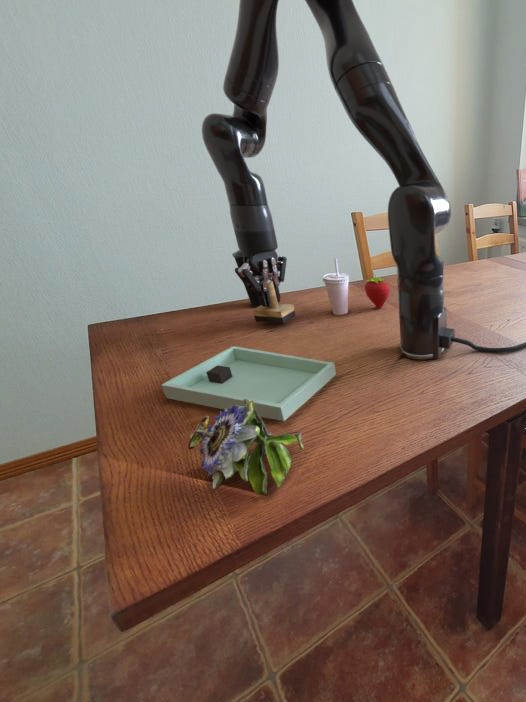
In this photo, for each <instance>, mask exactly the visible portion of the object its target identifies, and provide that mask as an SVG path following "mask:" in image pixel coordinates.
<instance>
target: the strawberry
mask: <svg viewBox="0 0 526 702" xmlns="http://www.w3.org/2000/svg"><path fill="white" fill-rule="evenodd" d="M372 274H373V275H374V277H371V279H367V280H365V285H364V292H365V294H366V296H367V298H368V299H369V300H370V302H371V303H372V304H373V305H374V306H375V307H376V308H377V309H381V308H383V306H384V305H385V303H386V302H387V300H388V299H389V297H390V292H391V290H390V286H389V284H387V282H385V281H386V279H384V278H383V277H379V278H378V277H376V275H375V273H374V272H372Z"/></svg>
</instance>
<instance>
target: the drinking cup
mask: <svg viewBox="0 0 526 702" xmlns="http://www.w3.org/2000/svg"><path fill="white" fill-rule="evenodd" d="M231 255H232V257H233V258H234V260H235V264H236V266H237V268H241V266H242V265H243V264H244V262H243V258H244V254H243V252H242V251H241V250H239V249H238V250H237V251H234V252H233V253H232V254H231ZM257 276H259V275H257ZM260 277H262V276H260ZM259 283H260V286H261V281H259ZM243 285H244V288H245V291H246V294H247V297H248V299H249V302H250V305H251V307H252V308H257V307H259V306H261V304H260V302H259V298H258V294H257V291H254V290H249V289H248V288H247V287H246V286H245V284H244V283H243Z"/></svg>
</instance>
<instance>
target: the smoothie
mask: <svg viewBox="0 0 526 702" xmlns="http://www.w3.org/2000/svg"><path fill="white" fill-rule="evenodd" d="M333 261H334V267H335V272H329V273H325V274H324V275H323V276H322V282H323V283H324V285H325V288H326V293H327V297H328V300H329V303H330V306H331V307H330V308H331V310H332V314H333V315H335V316H343V315H346V314H348V313H349V281H350V276H349V274H348V273H344V272H339V265H338V259H337V258H334V260H333Z"/></svg>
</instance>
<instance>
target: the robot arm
mask: <svg viewBox="0 0 526 702" xmlns="http://www.w3.org/2000/svg"><path fill="white" fill-rule="evenodd" d="M279 1H280V0H239V5H238V14H237V15H238V16H237V23H236V29H235V36H234V40H233V44H232V48H231V51H230V52H231V53H230V57H229V60H228V64H227V66H226V67H227V68H226V71H225V75H224V80H223V85H222V91H223V94H224V95H225V97H226V98H227V99H228V100H229V101H230V102H231V103H232V104H233V111H232V115H231V114H223V113H215V112H213V113H210V114H207V115H206V116H205V117H204V119H203V120H202V124H201V136H202V141H203V144H204V147H205V148H206V151H207V153H208V155H209V157H210V159H211V160H212V163H213V165H214V166H215V169H216V170H217V173H218V174H219V176H220V177H221V179H222V182H223V184H224V185H223V186H224V190H225V194H226V197H227V202H228V207H229V215H230V221H231V223H232V227H233V232H234V235H235V240H236V244H237V247H238V250H241V251H242V252H243V254H244V258H243V262H244V264H243V265H242V266H241V268H238V267H235V268H234V272H235V274H236V276H238V278H239V279H240V281H241V282H242V283H243V285H244V284H245V286H246V287H247V288H248V289H249V290H254V291H257V294H258V298H259V302H260V304H261V305H262V306H264V307H270V306H271V300H270V296H269V291H267V290H268V287H267V281H273V285H274V289H275V293H276V297H277V301H278V303H280V302H281V292H280V289H279V287H280V285H281V283H284V281H285V277H286V268H287V260H288V258H287V257H286V256H282V255H278V253H277V251H276V250H277V249H278V248H279V246H278V241H277V240H278V239H277V235H276V230H275V225H274V221H273V216H272V212H271V210H270V206H269V202H268V197H267V192H266V187H265V183H264V180H263V178H262V177H261V175H260V174H258V173H256V172H254V171H251V170H250V169H249V167H248V165H247V162H246V160H245V159H251V158H255V157H257V156H258V155H260V153H261V152H262V151H263V148H264V146H265V144H266V138H267V127H268V126H267V125H268V106H269V104H270V101H271V98H272V95H273V92H274V89H275V86H276V83H277V79H278V75H279V68H280V55H279V43H278V32H277V16H278V15H277V14H278V6H279ZM304 1H305V3H306V5H307V6H308V8H309V11H310V12H311V14H312V16H313V18H314V20H315V21H316V23H317V26H318V28H319V30H320V32H321V35H322V38H323V42H324V49H325V59H326V60H325V61H326V66H327V71H328V75H329V79H330V82H331V84H332V86H333V89H334V91H335V93H336V94H337V97H338V99H339V102H340V103H341V105H342V108H343V109H344V111H345V113H346V115H347V116H348V119H349V120H350V122H351V124H352V125H353V126H354V128H355V129H356V131H358V133H359V134H360V135H361V136H362V137H363V139H364V140H365V141H366V142H367V143H368V144H369V145H370V147H371V148H372V149H373V150H374V152H376V154H377V155H379V156H380V157H381V159H382V160H383V161H384V162H385V164H386V165H387V166H388V168H389V169H390V171H391V173H392V174H393V177H394V178H395V181H396V182H397V184H398V186H397V187H395V189H394V190H393V191H392V192H391V194H390V196H389V199H388V203H387V224H388V234H389V244H390V252H391V257H392V259H393V262H394V264H395V268H396V281H397V301H398V318H399V319H398V321H399V322H398V323H399V338H400V339H399V340H400V345H399V346H400V347H399V348H400V352H402V353H401V355H402V356H404V357H406V358H409V359H411V360H418V361H424V360H432V359H434V360H439V359H440V357H441V356H442V355H443V353H444V352H445V350H446V349H448V350H449V349H450V348H451V346H453V343H458V344H462V345H466V346H468V347H469V348H471V349H473V350H475V351H479V352H484V353H485V352H486V353H508V352H509V353H510V352H514V351H518V350H521V349H524V348H526V341H525V342H522V343H520V344H517V345H513V346H508V347H507V346H505V347H487V346H486V347H484V346H480V345H477V344H476V343H475V344H474V343H473V342H472V341H470V340H467V339H463V338H460V337H455V334H456V333H455V328H450V327H448V308H447V307H446V306H445V260H444V259H443V257H441V256H440V255H438V254H437V252H436V238H435V236H436V234H439V233H441V232H442V231H445V229H447V227H448V225H449V224H450V220H451V216H452V208H451V203H450V200H449V197H448V195H447V193H446V191H445V189H444V187H443V186H442V184H441V182H440V180H439V179H438V176H437V175H436V173H435V172H434V170H433V168H432V166H431V165H430V163H429V161H428V159H427V158H426V155H425V154H424V152H423V150H422V148H421V145H420V144H419V141H418V139H417V137H416V135H415V132H414V129H413V128H412V126H411V123H410V121H409V118H408V116H407V115H406V112H405V111H404V108H403V106H402V104H401V101H400V99H399V97H398V94H397V91H396V90H395V87H394V85H393V82H392V81H391V78H390V77H389V74H388V72H387V69H386V67H385V66H384V64H383V62H382V59H381V58H380V56H379V53H378V51H377V49H376V47H375V45H374V42H373V41H372V38H371V36H370V33H369V32H368V30H367V28H366V26H365V24H364V23H363V20H362V18H361V17H360V15H359V12H358V11H357V8H356V6H355V3H354V1H353V0H304ZM257 275H259V276H257ZM260 276H262V277H260ZM259 281H261V286H260V283H259ZM245 286H244V287H245Z"/></svg>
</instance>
